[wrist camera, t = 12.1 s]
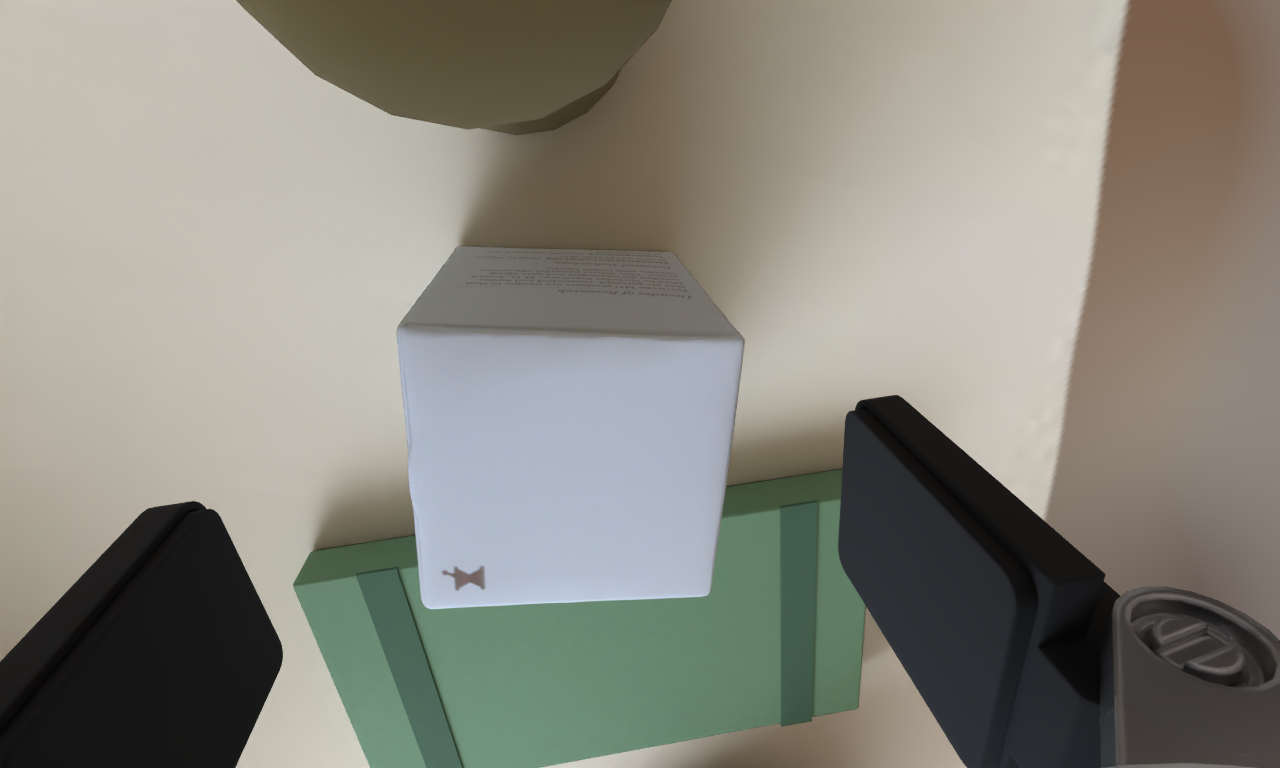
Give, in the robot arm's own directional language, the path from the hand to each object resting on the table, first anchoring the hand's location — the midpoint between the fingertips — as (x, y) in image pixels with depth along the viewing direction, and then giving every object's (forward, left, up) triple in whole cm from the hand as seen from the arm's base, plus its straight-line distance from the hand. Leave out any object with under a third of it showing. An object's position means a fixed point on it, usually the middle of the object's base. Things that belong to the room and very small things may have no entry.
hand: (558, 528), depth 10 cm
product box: (+1, 0, -10) cm, 10 cm away
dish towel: (+11, 0, -9) cm, 15 cm away
